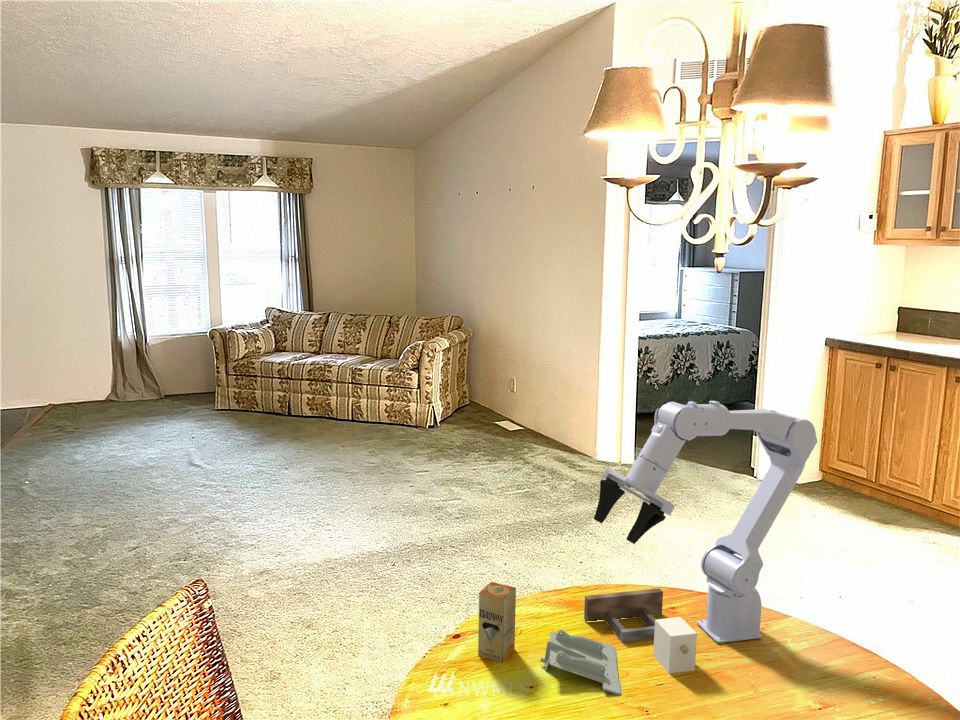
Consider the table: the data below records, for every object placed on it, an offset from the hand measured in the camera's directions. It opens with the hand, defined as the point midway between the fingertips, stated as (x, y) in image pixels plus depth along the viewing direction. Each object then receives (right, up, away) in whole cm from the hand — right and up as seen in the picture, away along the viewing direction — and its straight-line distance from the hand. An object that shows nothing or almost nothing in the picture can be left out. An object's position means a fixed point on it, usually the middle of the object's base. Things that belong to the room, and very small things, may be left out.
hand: (613, 531), depth 135 cm
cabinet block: (+11, -24, +2) cm, 27 cm away
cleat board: (+6, -22, +14) cm, 27 cm away
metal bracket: (-5, -25, +1) cm, 25 cm away
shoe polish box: (-20, -23, +5) cm, 31 cm away
